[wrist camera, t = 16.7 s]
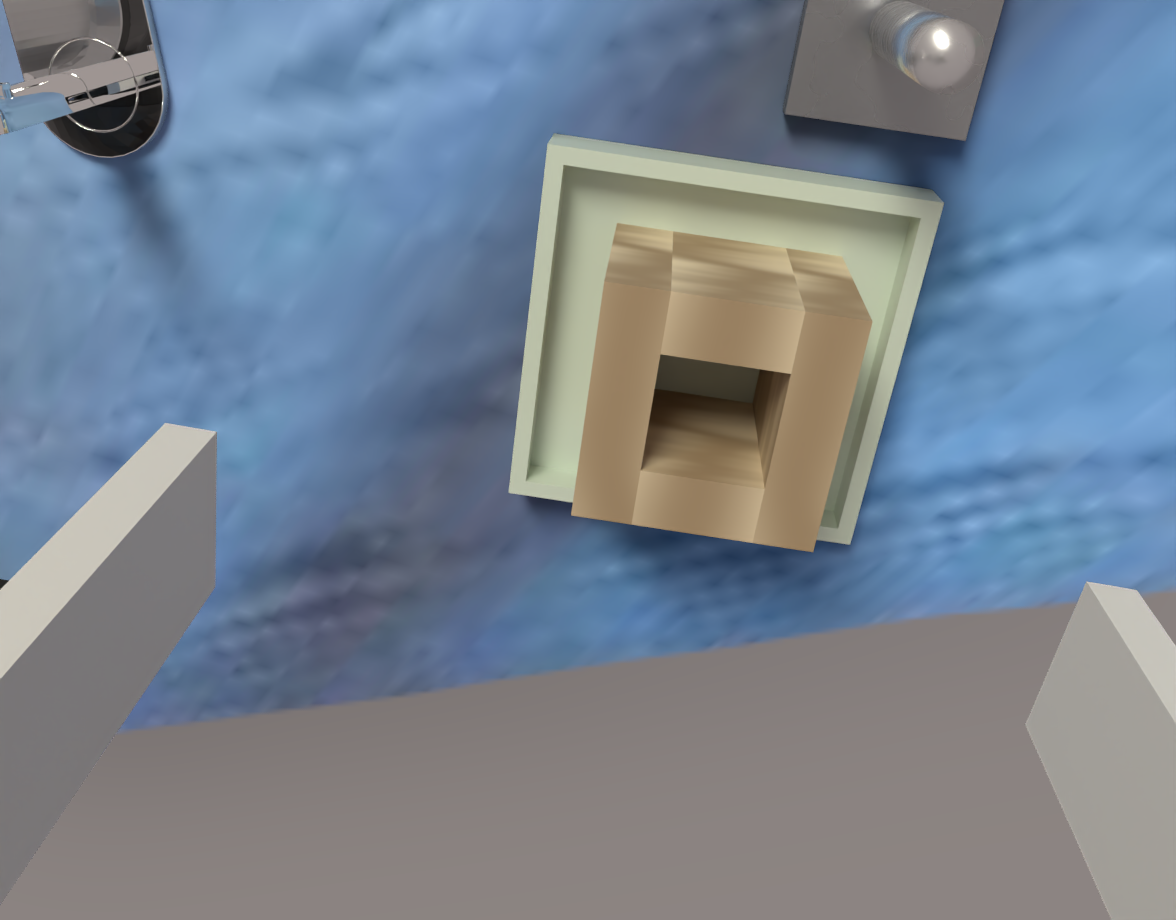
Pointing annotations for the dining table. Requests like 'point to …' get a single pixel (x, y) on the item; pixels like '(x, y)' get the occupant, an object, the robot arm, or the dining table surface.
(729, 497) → the bored block
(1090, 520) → the dining table surface
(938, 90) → the gauge post
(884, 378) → the tray
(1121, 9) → the dining table surface
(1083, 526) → the dining table surface
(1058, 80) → the dining table surface
